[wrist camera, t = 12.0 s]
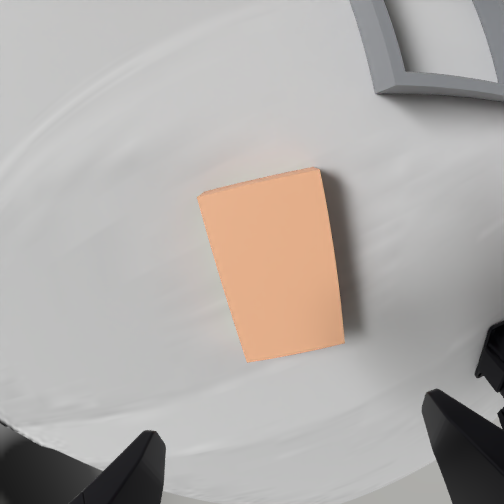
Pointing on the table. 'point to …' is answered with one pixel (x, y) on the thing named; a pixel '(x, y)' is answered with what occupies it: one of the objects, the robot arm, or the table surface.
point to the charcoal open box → (402, 82)
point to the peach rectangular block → (276, 262)
